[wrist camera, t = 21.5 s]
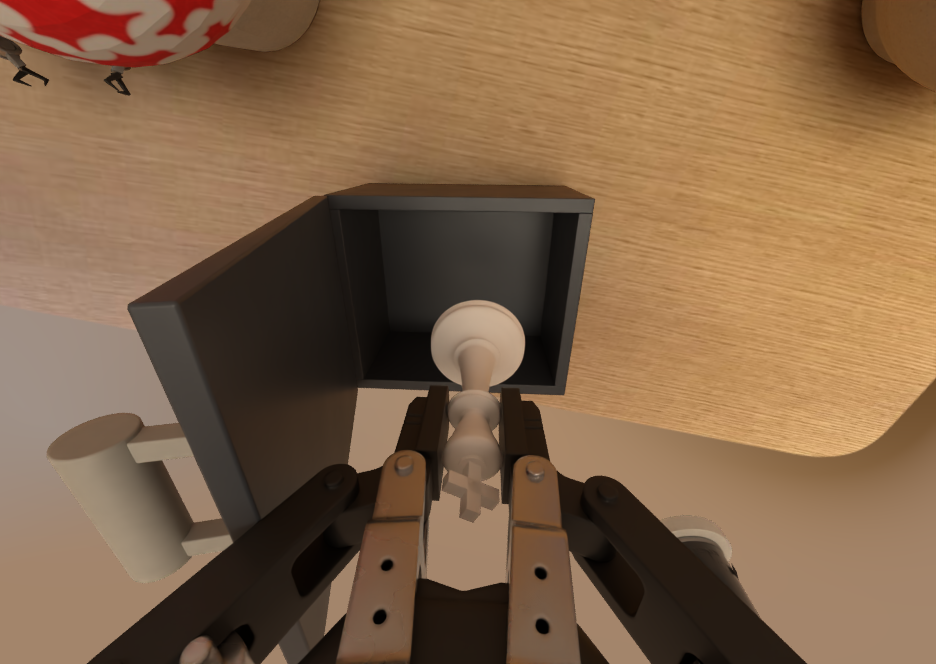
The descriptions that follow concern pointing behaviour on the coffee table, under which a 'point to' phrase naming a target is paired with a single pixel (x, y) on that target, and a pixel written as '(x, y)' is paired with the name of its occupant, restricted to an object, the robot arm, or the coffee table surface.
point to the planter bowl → (904, 35)
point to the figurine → (11, 52)
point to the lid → (227, 403)
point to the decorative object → (152, 27)
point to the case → (459, 273)
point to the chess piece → (475, 394)
